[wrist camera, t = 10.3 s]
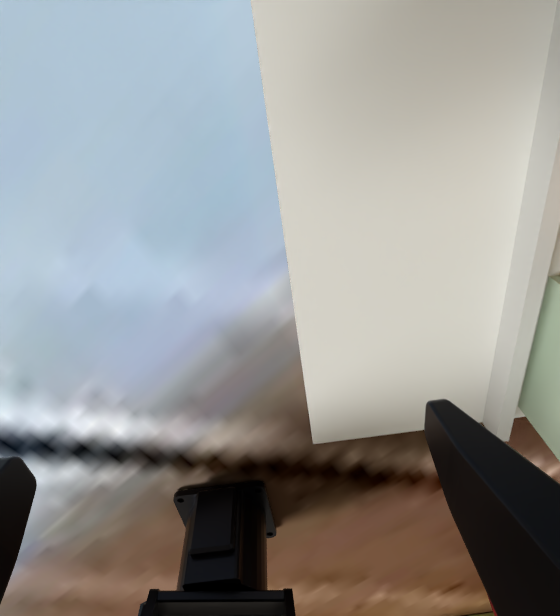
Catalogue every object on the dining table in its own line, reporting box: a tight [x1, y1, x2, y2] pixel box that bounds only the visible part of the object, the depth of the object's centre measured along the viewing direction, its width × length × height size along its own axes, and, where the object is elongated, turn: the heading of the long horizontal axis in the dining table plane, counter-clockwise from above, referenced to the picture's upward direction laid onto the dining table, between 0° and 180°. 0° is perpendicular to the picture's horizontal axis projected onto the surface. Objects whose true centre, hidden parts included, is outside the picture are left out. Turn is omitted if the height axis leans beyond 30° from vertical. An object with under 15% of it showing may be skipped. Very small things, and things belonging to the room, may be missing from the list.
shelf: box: [251, 0, 560, 444], centre depth 19 cm, size 24×20×3 cm
